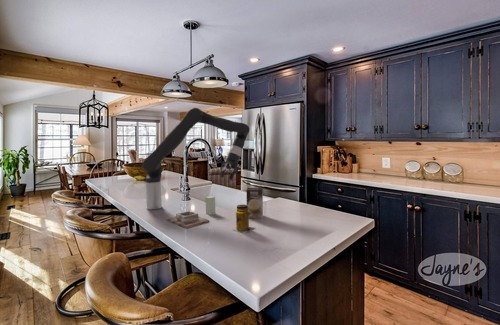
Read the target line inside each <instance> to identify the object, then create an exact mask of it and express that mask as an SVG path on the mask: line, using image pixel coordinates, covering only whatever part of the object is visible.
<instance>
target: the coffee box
mask: <svg viewBox="0 0 500 325" xmlns="http://www.w3.org/2000/svg"><path fill="white" fill-rule="evenodd" d="M263 190H264V189H263V187H247V188H246V205H247V206H248V212H249V219H263V216H264V215H263V214H264V212H263V211H264V204H263V203H264V199H263V198H264V194H263V193H264V191H263Z"/></svg>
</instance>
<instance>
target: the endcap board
mask: <svg viewBox="0 0 500 325" xmlns="http://www.w3.org/2000/svg"><path fill="white" fill-rule="evenodd" d="M166 221H168V222H171V223H172V224H175V225H177V226H180V227H182V228H184V229H190V228H192V227H196V226H199V225H204V224H206V223H210V220H209V219H208V218H204V217H202V216H199V213H198V212H195V211H193V210H188V211H182V212H179V213H178V212H177V213H176V214H175V216H170V217H167V218H166Z"/></svg>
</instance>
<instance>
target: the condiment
mask: <svg viewBox="0 0 500 325" xmlns="http://www.w3.org/2000/svg"><path fill="white" fill-rule="evenodd" d="M235 220H236V222H235V223H236V225H235V226H236V228H234V229H233V231H236V232H238V233H243V234H245V233H247V232H249V231H253V229H255V227H252V226H250V225H249V224H250V223H249V222H250V221H249V220H250V218H249V212H248V206H247V204H238V205H236V212H235Z"/></svg>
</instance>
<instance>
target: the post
mask: <svg viewBox="0 0 500 325" xmlns="http://www.w3.org/2000/svg"><path fill="white" fill-rule="evenodd" d="M205 214H206V215H209V216H211V215H215V214H216V197H215V196H213V195H208V196H205Z"/></svg>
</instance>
